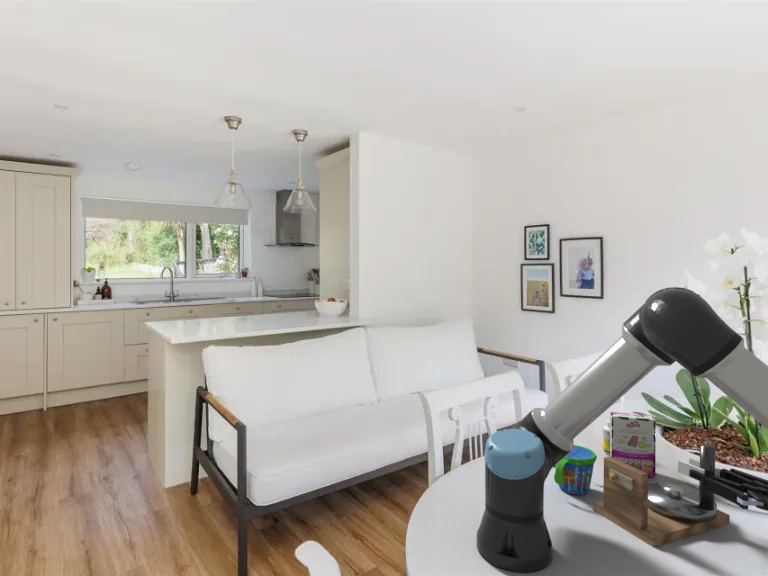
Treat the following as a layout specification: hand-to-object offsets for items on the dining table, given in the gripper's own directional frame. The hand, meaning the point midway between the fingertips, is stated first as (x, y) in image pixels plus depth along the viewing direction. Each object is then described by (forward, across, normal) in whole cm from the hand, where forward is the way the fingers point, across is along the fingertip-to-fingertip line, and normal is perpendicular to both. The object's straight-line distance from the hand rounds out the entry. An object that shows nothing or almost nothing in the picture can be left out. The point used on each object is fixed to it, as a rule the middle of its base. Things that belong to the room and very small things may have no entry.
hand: (684, 464), depth 108 cm
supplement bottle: (+34, +15, -12) cm, 39 cm away
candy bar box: (+22, +9, -12) cm, 26 cm away
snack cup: (+20, -14, -12) cm, 27 cm away
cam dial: (+1, -1, -10) cm, 10 cm away
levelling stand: (+2, -6, -12) cm, 14 cm away
